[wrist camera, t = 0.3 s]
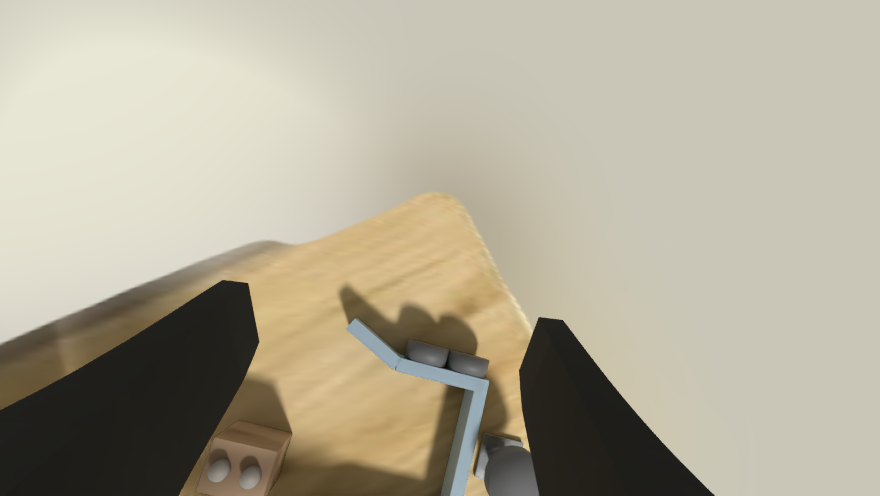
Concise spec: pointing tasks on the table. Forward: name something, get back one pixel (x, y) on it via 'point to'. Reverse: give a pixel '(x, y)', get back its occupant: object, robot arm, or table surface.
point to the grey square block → (491, 450)
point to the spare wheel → (510, 473)
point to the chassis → (446, 370)
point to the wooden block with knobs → (244, 461)
